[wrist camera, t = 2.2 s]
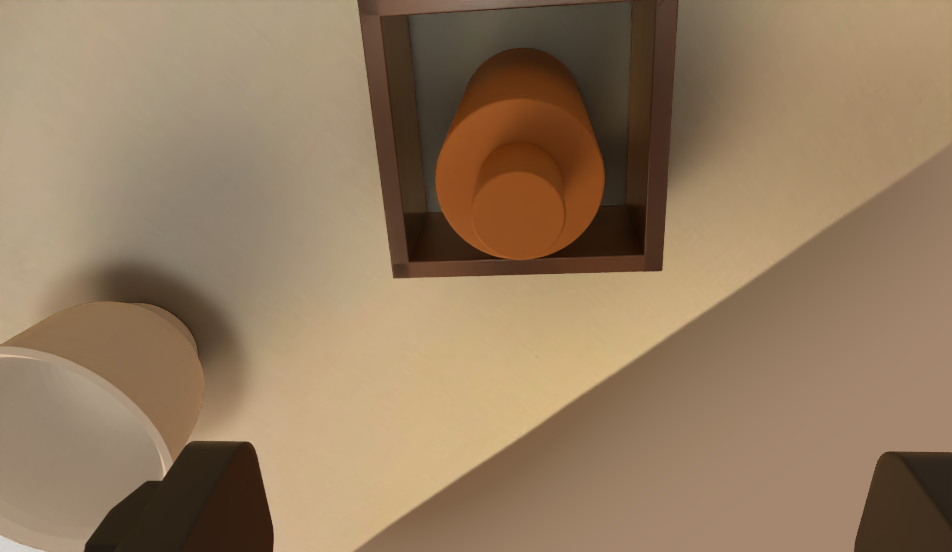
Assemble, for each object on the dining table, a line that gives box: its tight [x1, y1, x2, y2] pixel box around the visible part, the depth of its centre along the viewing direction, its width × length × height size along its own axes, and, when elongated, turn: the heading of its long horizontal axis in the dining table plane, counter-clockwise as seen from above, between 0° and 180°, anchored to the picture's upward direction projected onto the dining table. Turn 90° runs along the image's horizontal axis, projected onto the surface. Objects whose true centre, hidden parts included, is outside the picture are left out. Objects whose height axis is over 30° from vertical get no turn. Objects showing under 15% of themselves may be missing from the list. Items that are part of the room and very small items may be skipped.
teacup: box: [0, 301, 204, 552], centre depth 36 cm, size 12×15×10 cm
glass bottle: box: [435, 48, 605, 260], centre depth 26 cm, size 6×6×14 cm
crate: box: [357, 0, 678, 278], centre depth 30 cm, size 12×12×6 cm
